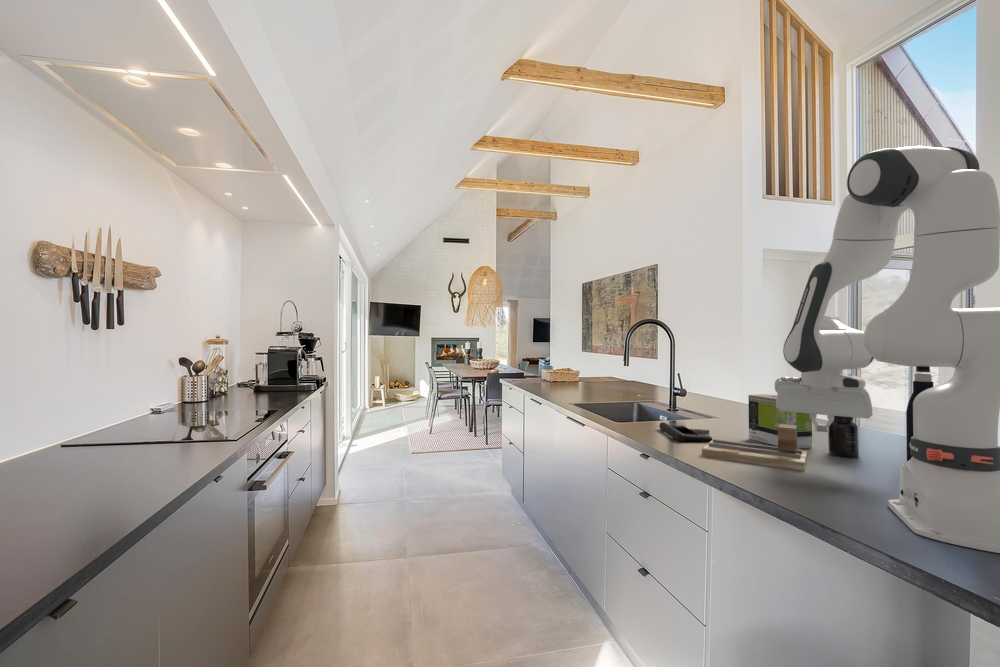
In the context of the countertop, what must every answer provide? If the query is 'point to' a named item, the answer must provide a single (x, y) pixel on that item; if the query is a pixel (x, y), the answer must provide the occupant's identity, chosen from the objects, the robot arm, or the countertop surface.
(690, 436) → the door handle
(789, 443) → the fader knob
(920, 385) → the black water bottle
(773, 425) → the tea box
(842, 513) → the countertop surface
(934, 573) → the countertop surface
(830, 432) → the supplement bottle
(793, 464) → the slider board
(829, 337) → the robot arm
